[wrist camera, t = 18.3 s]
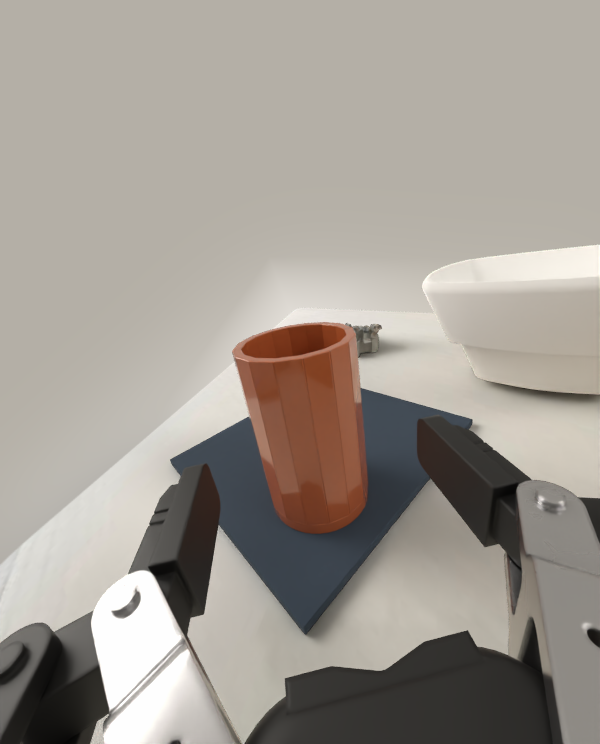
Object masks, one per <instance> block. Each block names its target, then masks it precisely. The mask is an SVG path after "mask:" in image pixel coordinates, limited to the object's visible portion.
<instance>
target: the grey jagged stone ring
mask: <svg viewBox="0 0 600 744" xmlns="http://www.w3.org/2000/svg"><path fill="white" fill-rule="evenodd" d="M345 325H347V326H350V327H352V326H351V324H348V323H346V324H345ZM352 328H353V329H354V331H355V333H356V341H357V353H358V357H359V354H361V353H364V352H372V353H373V352H376V351H378V349H377V348H378V346H379V337H378V334H377V332H378V331H379V330H380V329H382V327H381V325H379V324H373V325H372V324H371V325H370V327H369V326H364V327H363V326H353V327H352Z"/></svg>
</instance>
